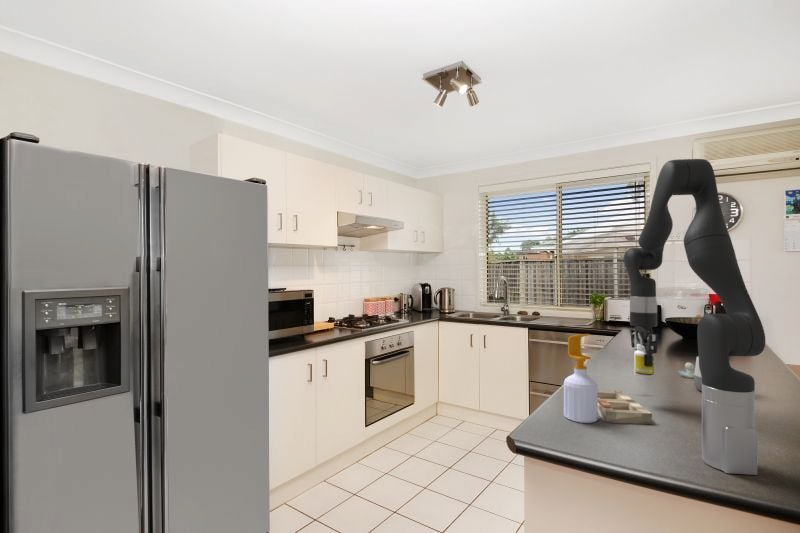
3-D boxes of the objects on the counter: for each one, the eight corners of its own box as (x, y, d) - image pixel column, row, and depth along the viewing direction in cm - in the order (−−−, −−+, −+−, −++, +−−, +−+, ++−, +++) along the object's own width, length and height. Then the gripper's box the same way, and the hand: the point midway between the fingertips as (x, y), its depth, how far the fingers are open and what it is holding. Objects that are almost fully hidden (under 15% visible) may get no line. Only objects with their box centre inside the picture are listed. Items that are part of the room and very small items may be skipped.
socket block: (651, 424, 116) (651, 409, 116) (606, 422, 117) (606, 408, 117) (620, 400, 137) (620, 388, 137) (582, 399, 138) (582, 387, 138)
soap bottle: (577, 425, 115) (577, 336, 116) (557, 413, 124) (557, 331, 124) (604, 421, 118) (604, 334, 118) (582, 411, 127) (582, 330, 127)
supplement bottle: (656, 378, 128) (656, 346, 129) (637, 377, 129) (637, 345, 130) (650, 374, 134) (649, 343, 134) (631, 373, 135) (631, 342, 135)
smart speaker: (705, 387, 152) (705, 349, 152) (733, 394, 144) (733, 353, 144) (687, 390, 149) (687, 350, 149) (715, 397, 140) (715, 355, 140)
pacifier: (680, 375, 171) (677, 377, 167) (681, 359, 171) (677, 361, 167) (702, 378, 166) (699, 380, 162) (702, 362, 166) (699, 364, 162)
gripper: (667, 312, 124) (668, 369, 124) (645, 309, 139) (645, 360, 138) (641, 312, 125) (641, 369, 125) (621, 308, 140) (621, 359, 139)
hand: (643, 364), depth 132 cm, fingers closed on supplement bottle, 5 cm apart
